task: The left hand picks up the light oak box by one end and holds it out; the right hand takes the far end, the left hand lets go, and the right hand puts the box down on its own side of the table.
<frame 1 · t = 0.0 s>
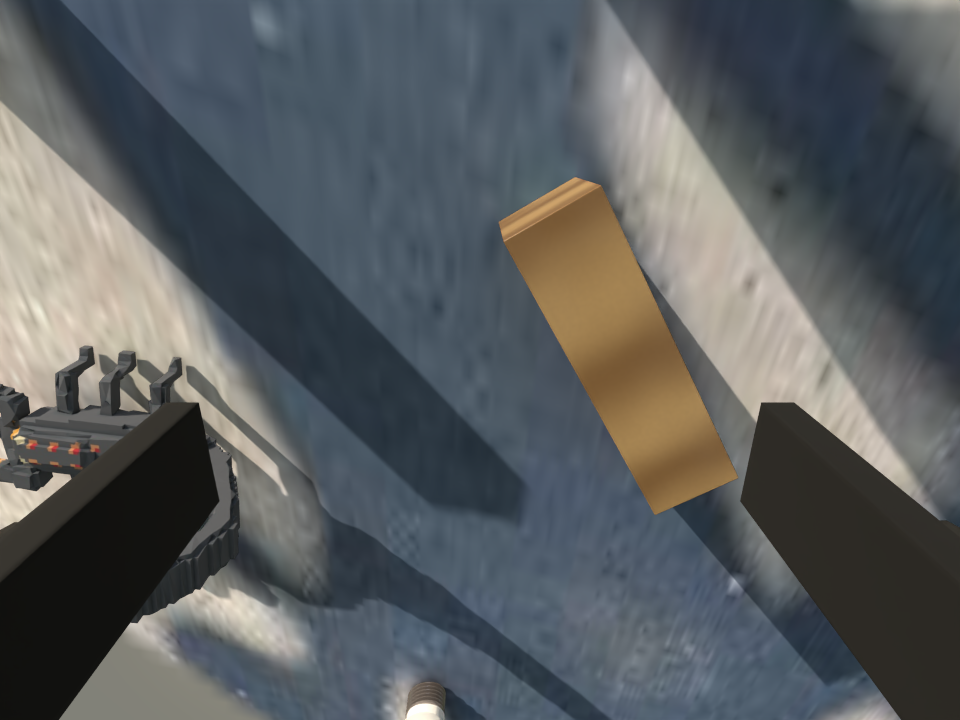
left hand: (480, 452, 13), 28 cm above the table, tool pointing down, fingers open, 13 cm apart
toy: (124, 418, 44), on the table
light bulb: (427, 693, 56), on the table
box: (602, 327, 41), on the table
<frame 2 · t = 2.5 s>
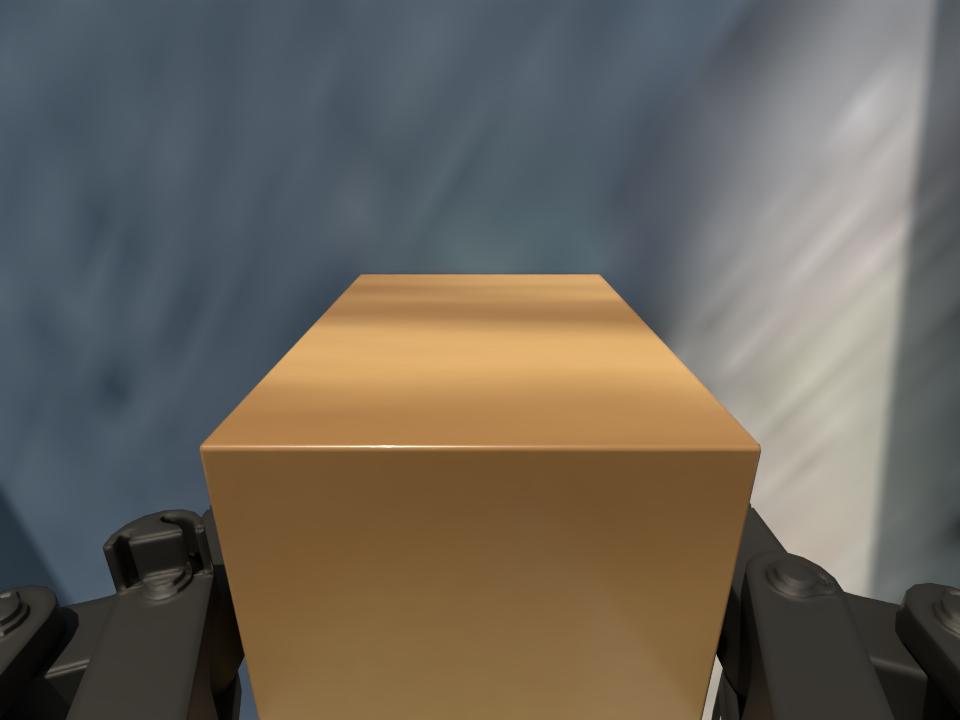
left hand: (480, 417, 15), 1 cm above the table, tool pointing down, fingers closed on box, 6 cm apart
box: (480, 602, 18), on the table, touching left hand
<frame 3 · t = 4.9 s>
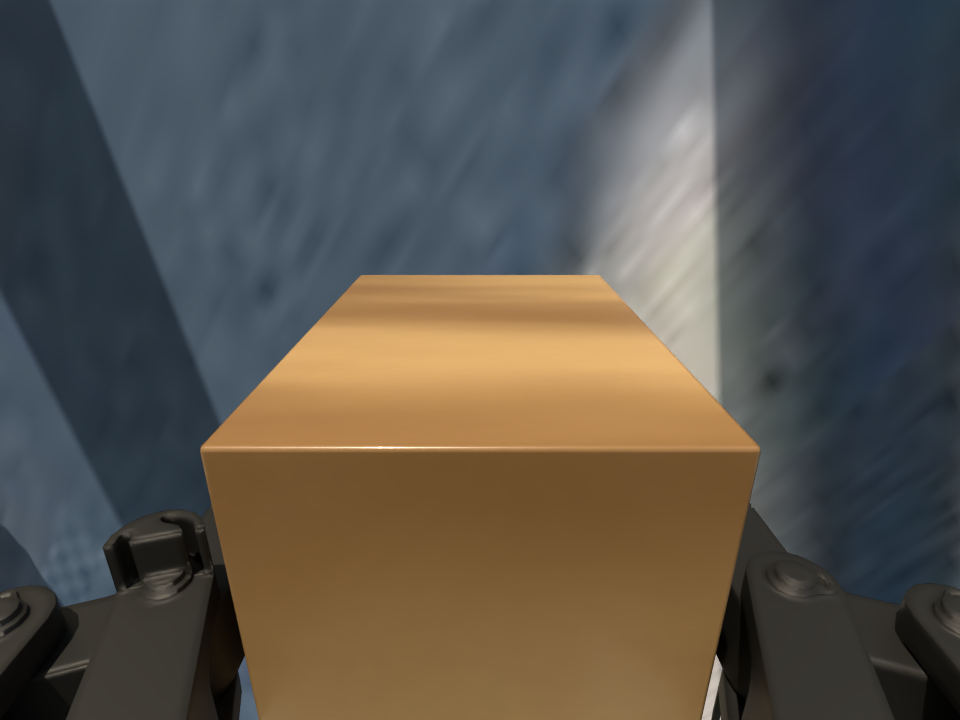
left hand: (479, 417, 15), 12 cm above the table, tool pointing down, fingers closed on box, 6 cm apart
box: (480, 602, 18), point 11 cm above the table, touching left hand
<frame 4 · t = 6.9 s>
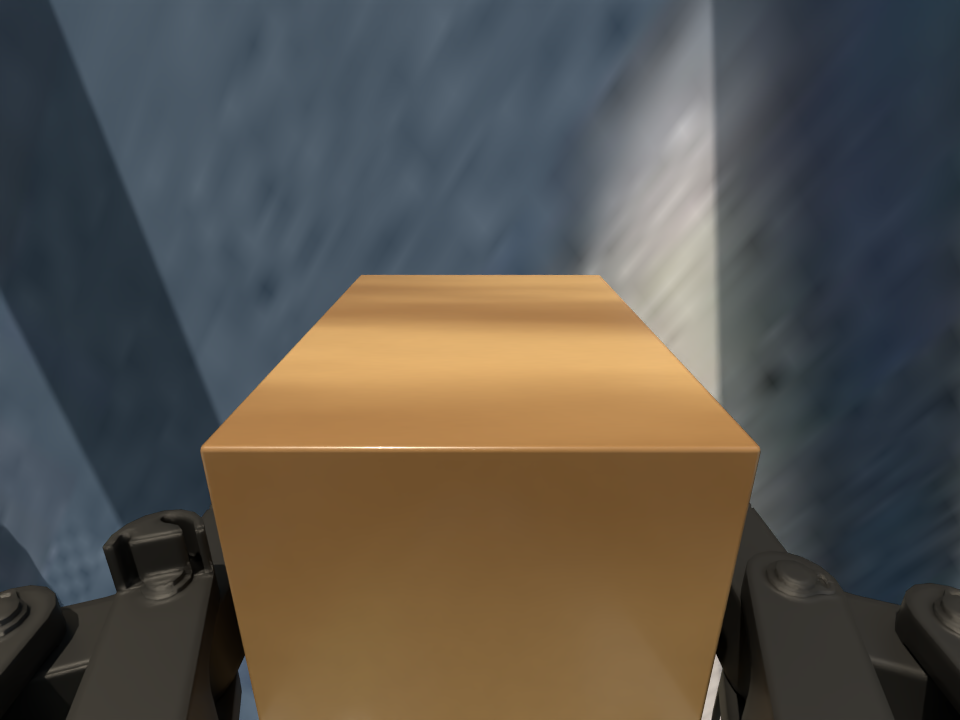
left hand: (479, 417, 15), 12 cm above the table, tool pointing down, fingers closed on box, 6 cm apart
box: (480, 602, 18), point 11 cm above the table, touching left hand, right hand
when the left hand's fingers open (12 cm above the table, at t = 7.6 s): box stays where it is, held by the right hand.
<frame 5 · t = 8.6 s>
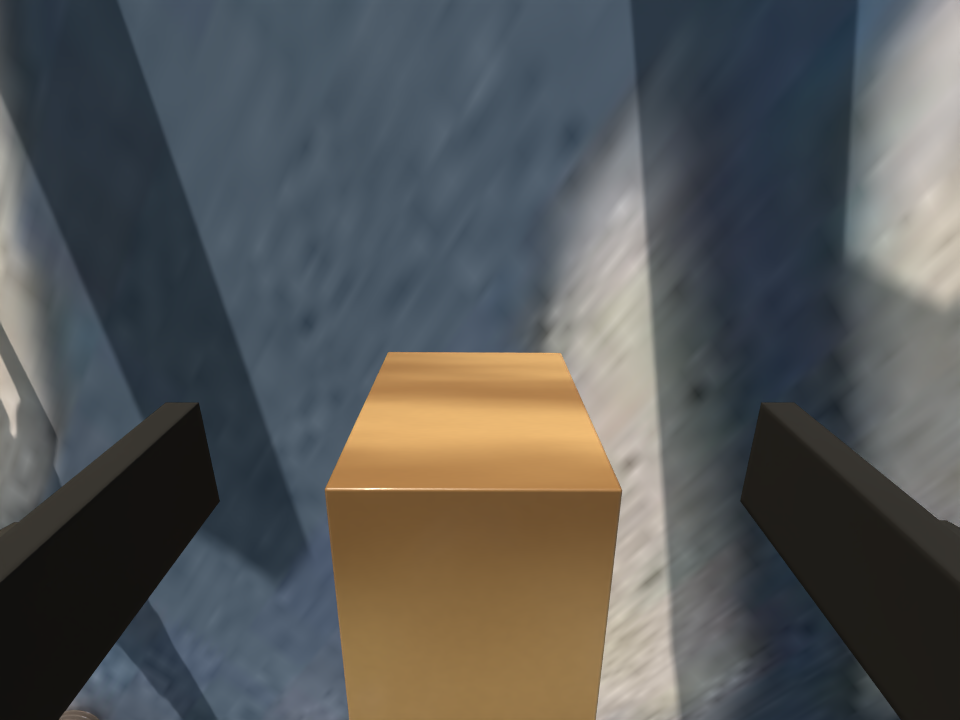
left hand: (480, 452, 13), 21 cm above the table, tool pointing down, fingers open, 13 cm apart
box: (473, 595, 23), point 14 cm above the table, touching right hand
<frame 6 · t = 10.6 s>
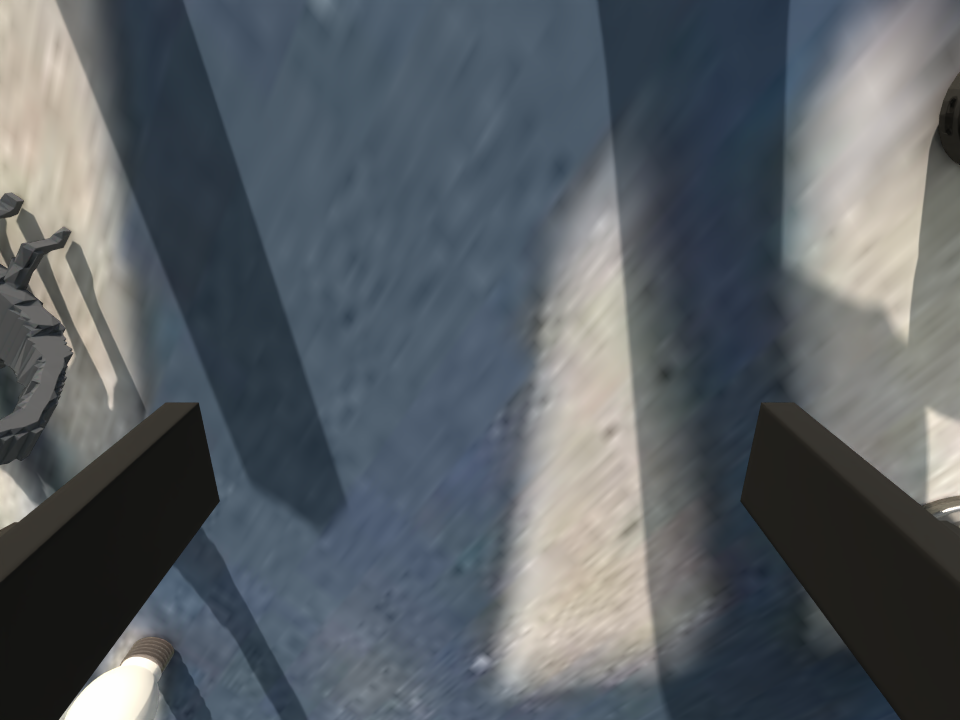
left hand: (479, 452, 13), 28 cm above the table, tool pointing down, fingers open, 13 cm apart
light bulb: (155, 649, 54), on the table
when the right hand's fingers open (2 cm above the table, at t = 14.8 s): box drops 1 cm, on the table.
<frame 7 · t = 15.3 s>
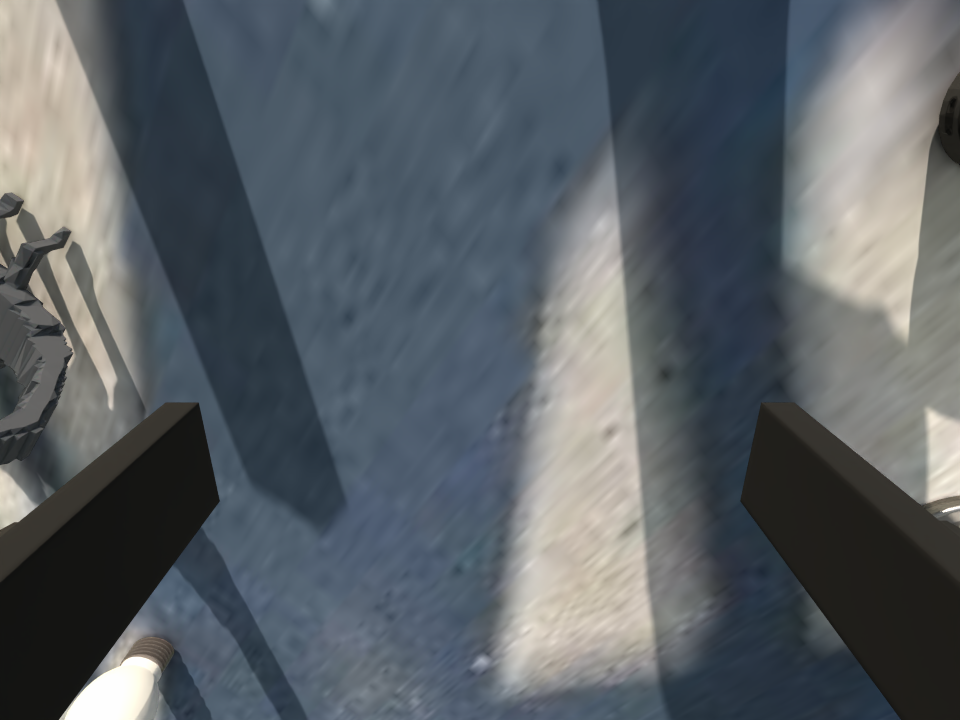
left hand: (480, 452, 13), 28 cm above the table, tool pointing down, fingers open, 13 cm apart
light bulb: (155, 649, 54), on the table
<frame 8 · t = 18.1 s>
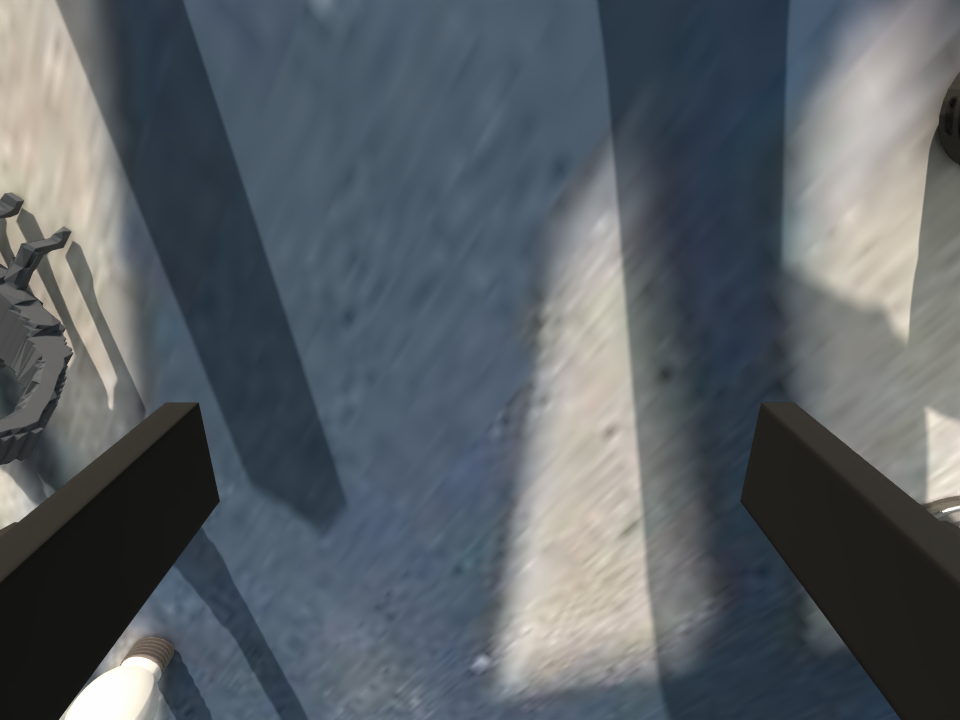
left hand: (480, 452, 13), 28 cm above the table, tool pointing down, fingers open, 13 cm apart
light bulb: (155, 649, 54), on the table
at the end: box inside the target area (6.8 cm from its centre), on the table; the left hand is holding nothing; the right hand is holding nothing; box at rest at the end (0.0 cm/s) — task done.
